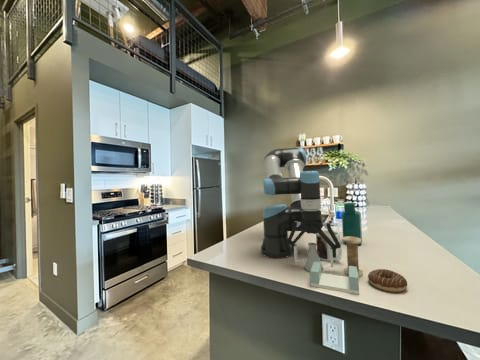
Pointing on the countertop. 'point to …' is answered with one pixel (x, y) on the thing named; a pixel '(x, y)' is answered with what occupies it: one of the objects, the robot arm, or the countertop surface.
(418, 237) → the countertop surface
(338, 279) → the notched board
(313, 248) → the flask
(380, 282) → the donut
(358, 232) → the green bottle
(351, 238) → the bobbin
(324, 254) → the mug
